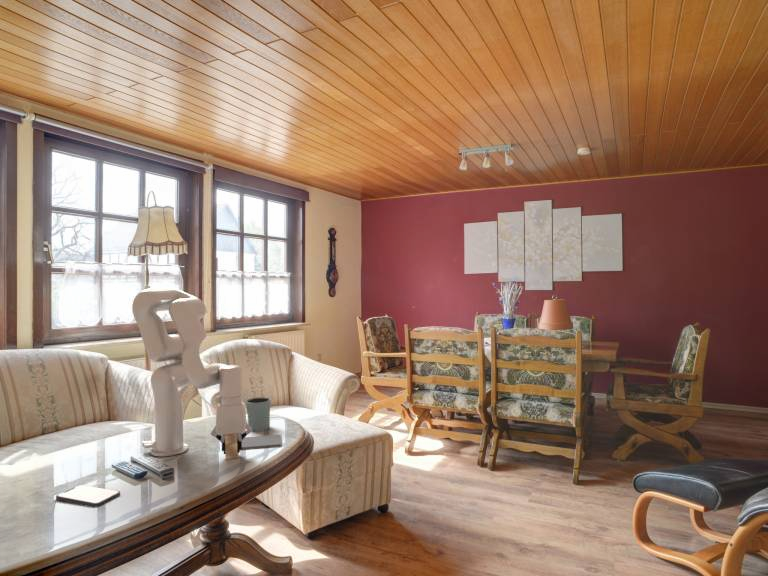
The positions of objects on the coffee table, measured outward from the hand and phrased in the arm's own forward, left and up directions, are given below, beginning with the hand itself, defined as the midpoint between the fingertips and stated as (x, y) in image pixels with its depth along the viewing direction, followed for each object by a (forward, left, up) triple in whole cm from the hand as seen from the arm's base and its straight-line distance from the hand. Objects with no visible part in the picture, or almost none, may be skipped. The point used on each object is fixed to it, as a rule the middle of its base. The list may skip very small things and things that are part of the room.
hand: (231, 451), depth 176 cm
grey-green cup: (+8, +33, -2) cm, 34 cm away
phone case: (-38, -24, -2) cm, 45 cm away
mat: (+7, +13, -2) cm, 15 cm away
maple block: (0, 0, -2) cm, 2 cm away
